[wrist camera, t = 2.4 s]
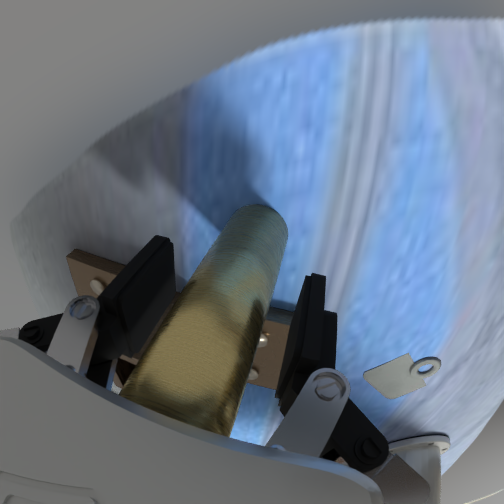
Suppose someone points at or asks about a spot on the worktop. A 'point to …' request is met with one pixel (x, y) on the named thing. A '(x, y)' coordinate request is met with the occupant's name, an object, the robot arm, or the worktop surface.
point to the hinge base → (104, 271)
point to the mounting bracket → (400, 375)
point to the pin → (214, 327)
